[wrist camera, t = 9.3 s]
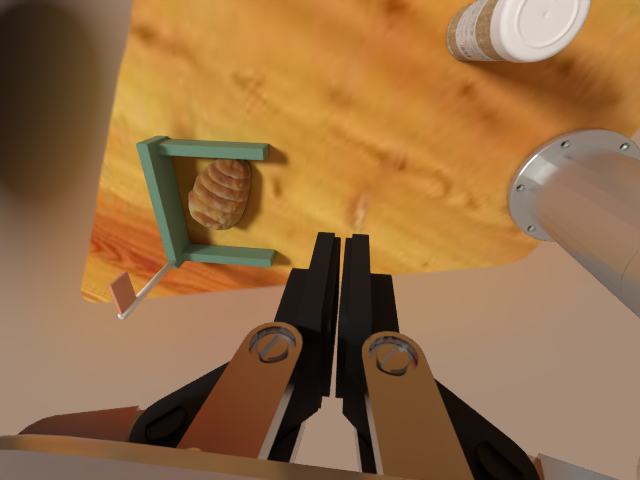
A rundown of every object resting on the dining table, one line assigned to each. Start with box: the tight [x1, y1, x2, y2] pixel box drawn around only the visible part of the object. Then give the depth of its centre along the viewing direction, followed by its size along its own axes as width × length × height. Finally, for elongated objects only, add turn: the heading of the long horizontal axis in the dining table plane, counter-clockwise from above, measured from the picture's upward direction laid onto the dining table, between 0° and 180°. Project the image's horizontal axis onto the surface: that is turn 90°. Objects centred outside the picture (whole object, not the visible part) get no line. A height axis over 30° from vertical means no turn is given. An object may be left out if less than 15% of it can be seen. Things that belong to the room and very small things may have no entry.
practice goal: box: [108, 136, 275, 320], centre depth 34 cm, size 13×16×14 cm
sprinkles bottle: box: [446, 0, 591, 63], centre depth 23 cm, size 5×5×14 cm
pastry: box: [188, 158, 251, 230], centre depth 37 cm, size 9×7×4 cm
